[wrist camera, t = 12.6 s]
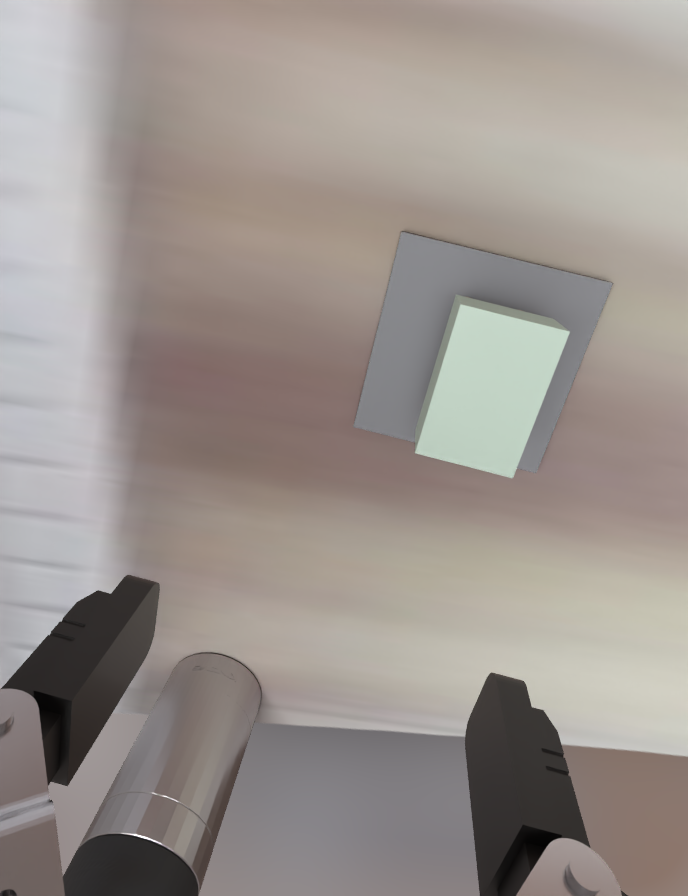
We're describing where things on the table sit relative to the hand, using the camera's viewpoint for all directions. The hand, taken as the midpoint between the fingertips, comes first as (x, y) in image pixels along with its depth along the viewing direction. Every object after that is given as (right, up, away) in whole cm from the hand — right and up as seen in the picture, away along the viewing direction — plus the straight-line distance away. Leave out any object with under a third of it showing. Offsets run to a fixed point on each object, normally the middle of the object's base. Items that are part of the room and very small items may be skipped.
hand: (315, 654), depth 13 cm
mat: (+10, +11, +27) cm, 31 cm away
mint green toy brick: (+10, +11, +26) cm, 30 cm away
